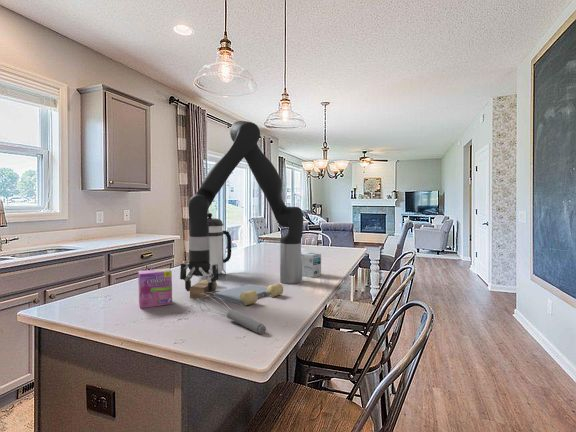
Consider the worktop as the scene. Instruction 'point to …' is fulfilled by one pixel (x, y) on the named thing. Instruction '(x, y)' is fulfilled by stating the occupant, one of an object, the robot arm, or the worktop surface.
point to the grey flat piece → (249, 293)
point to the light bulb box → (311, 264)
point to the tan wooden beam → (201, 289)
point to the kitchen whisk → (240, 318)
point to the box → (155, 287)
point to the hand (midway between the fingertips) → (199, 291)
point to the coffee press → (218, 243)
